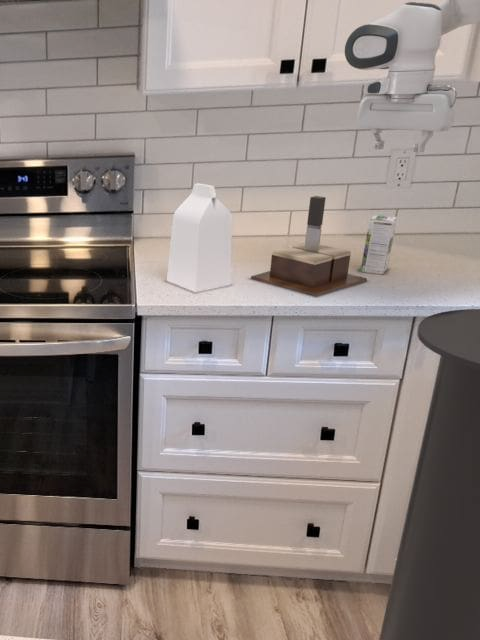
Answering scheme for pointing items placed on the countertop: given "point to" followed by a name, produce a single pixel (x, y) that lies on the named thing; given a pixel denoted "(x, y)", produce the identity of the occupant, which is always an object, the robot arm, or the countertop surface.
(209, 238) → the milk
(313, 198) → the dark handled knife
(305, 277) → the brown square slotted block
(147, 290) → the countertop surface
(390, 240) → the syrup box
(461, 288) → the countertop surface
